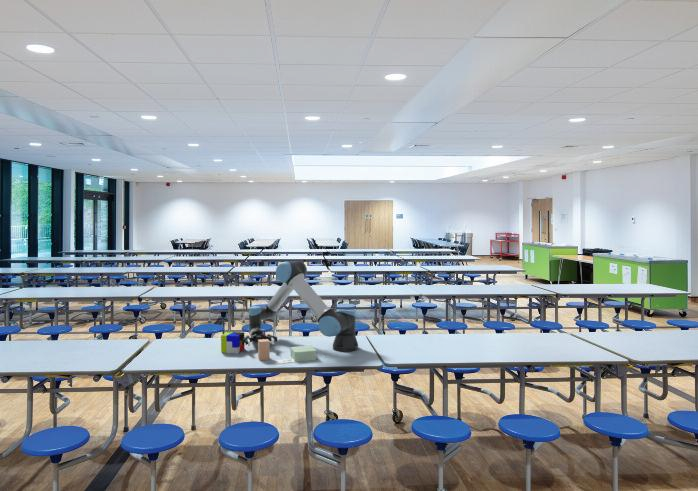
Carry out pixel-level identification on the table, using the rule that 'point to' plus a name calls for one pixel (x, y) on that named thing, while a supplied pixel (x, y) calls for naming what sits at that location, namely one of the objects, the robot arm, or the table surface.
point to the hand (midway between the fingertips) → (261, 343)
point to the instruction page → (286, 361)
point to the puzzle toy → (232, 342)
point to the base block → (303, 353)
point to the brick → (263, 349)
